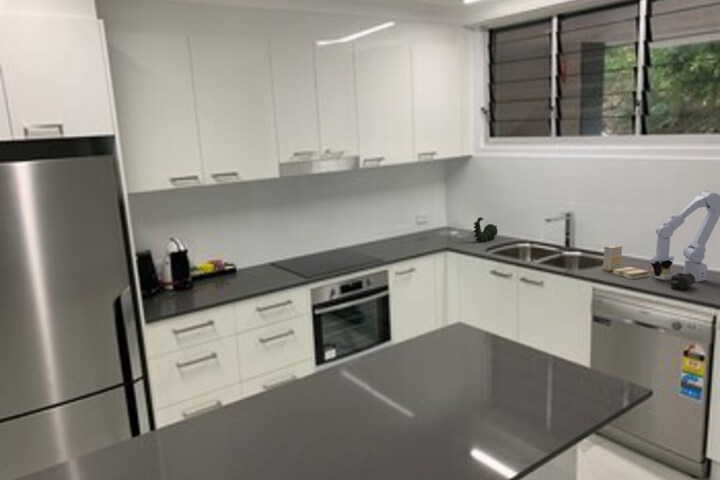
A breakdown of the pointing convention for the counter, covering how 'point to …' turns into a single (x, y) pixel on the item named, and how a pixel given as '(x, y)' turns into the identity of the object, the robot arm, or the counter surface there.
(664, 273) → the block
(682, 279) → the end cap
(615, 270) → the stand
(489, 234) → the toy figurine
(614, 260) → the supplement box
